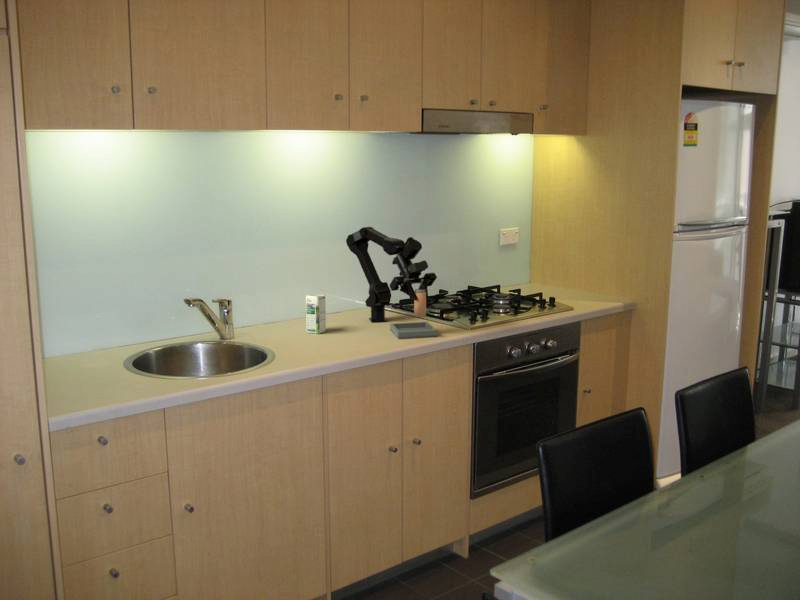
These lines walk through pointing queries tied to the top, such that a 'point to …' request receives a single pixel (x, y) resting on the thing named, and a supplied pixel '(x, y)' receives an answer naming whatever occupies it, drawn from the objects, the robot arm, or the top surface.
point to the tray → (413, 330)
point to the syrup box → (315, 314)
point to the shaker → (420, 303)
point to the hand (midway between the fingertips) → (422, 299)
